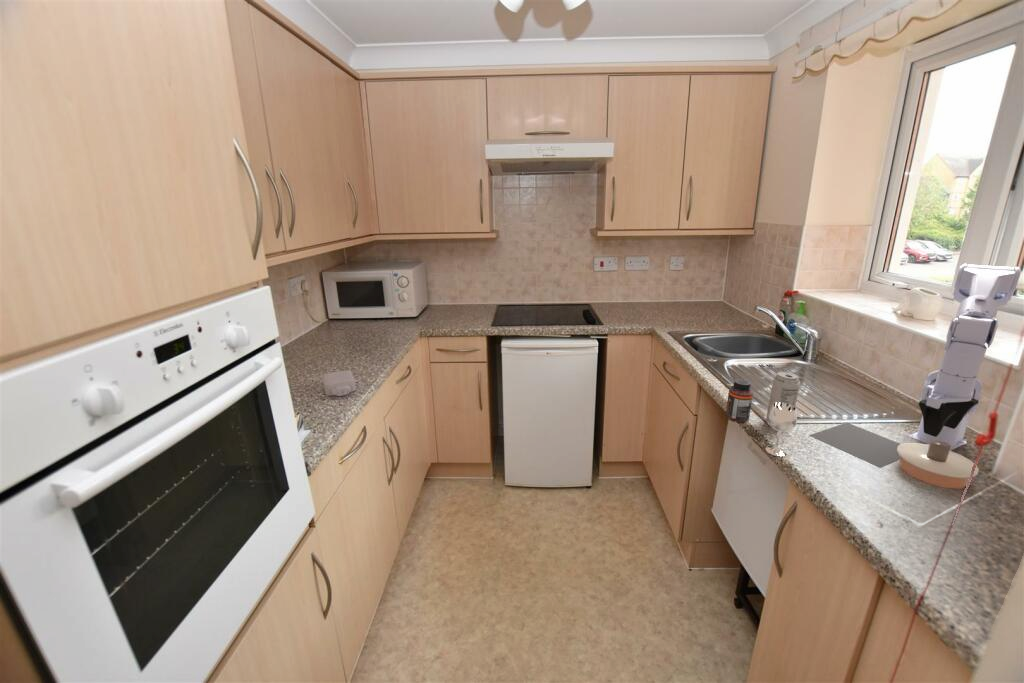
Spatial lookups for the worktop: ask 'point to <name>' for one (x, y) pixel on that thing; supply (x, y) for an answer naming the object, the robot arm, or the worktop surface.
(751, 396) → the supplement bottle
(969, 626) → the worktop surface
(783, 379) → the energy drink can
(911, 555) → the worktop surface
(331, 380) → the charger
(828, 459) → the worktop surface
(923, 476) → the bowl
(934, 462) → the lid
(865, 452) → the mat
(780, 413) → the wineglass
